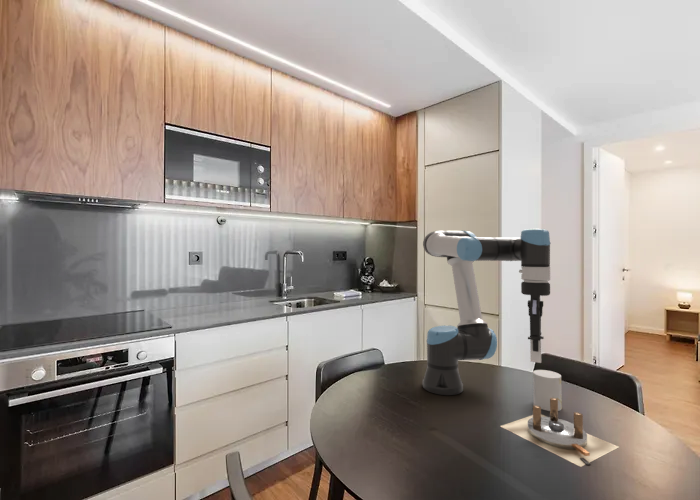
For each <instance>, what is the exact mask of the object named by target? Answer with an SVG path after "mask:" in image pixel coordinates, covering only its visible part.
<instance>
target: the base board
mask: <svg viewBox="0 0 700 500" xmlns="http://www.w3.org/2000/svg"><path fill="white" fill-rule="evenodd" d="M541 417H547V416H546V415H544V414H542V413H541ZM531 418H533V414H532V415H528V416H526V417H523V418H520V419H517V420H514V421H511V422H508V423H505V424H502V425H500V426H499V427H501V428H502V429H504V430H506V431H509V432H510V433H513V434H514V435H517V436H518V437H520V438H522V439H524V440H527V441H529V442H530V443H532V444H534V445H536V446H538V447H540V448H542V449H544V450H546V451H547V452H550V453H552V454H554V455H556V456H558V457H560V458H562V459H564V460H565V461H567V462H569V463H572V464H574V465H575V466H578V467H580V468H582V467H584V466H591V462H593V461H595V460H597V459H600V458H602V457H603V456H605V455H608V454H609V453H611V452H613V451H615V450H617V449H619V448H620V446H619V445H615V444H614V443H611V442H609V441H606V440H604V439H601V438H599V437H597V436H594V435H592V434H589V433H587V432H586V434H587V445H586V446H585V447H583V448H584V449H585V450H586V451H588V452H589V453H590V456H584V455H583V454H582V453H580V452H579V451H578V450H576V449H565V448H559V447H555V446H551V445H548V444H546V443H543V442H541V441H539V440H537V439H536V438H534V437H533V436H532V435H531V434H530V433H529V432H528V420H529V419H531Z"/></svg>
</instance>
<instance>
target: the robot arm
mask: <svg viewBox="0 0 700 500" xmlns="http://www.w3.org/2000/svg"><path fill="white" fill-rule="evenodd" d="M550 239H551V238H550V231H549V230H548V229H545V228H527V229H523V230H522V231H520V237H483V236H481V237H479V236H478V237H477V236H476V234H475V233H474V232H472V231H468V230H435V231H431V232H429V233H428V234H427V235H426V236H425V237H424V238H423V242H422V247H423V251H425V252H426V253H427V255H429V256H432V257H435V258H446V261H447V264H448V265H450V266H451V269H452V275H453V276H452V277H453V283H454V289H455V295H456V302H457V308H458V309H457V310H458V314H459V323H458V324H457V326H454V325H438V326H437V325H436V326H434V327H432V328H430V329H428V330H427V334H426V336H427V337H426V366H427V367H426V370H425V372H424V377H423V378H422V388H423V389H424V390H425V391H427V392H429V393H432V394H434V395H435V394H436V395H441V396H455V395H459V394H461V393H462V392H463V391H464V383H463V381H462V378H461V374H460V372H459V371H460V370H459V361H475V360H476V361H477V360H479V361H481V360H488V359H491V358H493V357H494V355H495V354H496V351H497V348H498V339H497V335H496V333H495V331H494V330H493V329H492V328H490V327H489V326H488V322H486V321H485V320H484V319H483V315H482V310H481V303H480V297H479V293H478V287H477V282H476V274H475V269H474V264H473V263H474V261H475V262H477V261H478V262H479V261H480V262H481V261H483V262H484V261H485V262H486V261H487V262H489V261H491V262H492V261H493V262H495V261H496V262H498V261H499V262H501V261H503V262H504V261H505V262H521V263H520V267H521V269H519V271H518V272H519V273H520V274H521V278H520V279H521V280H522V282H521V283H520V290H521V291H520V293H521V294H522V295H524V296H530V299H528V301H527V308H528V316H529V336H527V340H530V341H529V343H530V344H529V345H530V350H529V352H530V362H532V363H539V364H541V363H542V340H544V339H545V338H544V336H542V317H543V307H544V301H543V300H541V297H546V296H547V297H548V296H550V295H551V283H550V282H549V281H551V267H550V266H551V265H550V264H551V240H550Z"/></svg>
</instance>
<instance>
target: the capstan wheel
mask: <svg viewBox="0 0 700 500" xmlns="http://www.w3.org/2000/svg"><path fill="white" fill-rule="evenodd" d="M541 414H542V409H541V407H540V406H537V405H534V404H533V405H532V415H533V418H531V419H529V420H528V432H529V433H530V434H531V435H532V436H533V437H534V438H536V439H537V440H539V441H541V442H543V443H546V444H548V445H551V446H555V447H559V448H565V449H576V450H578V451H579V452H580V453H582V454H583V455H584V456H590V453H589V452H588V451H586V450H585V449H584V448H583V447H585V446H586V445H587V434H588V433H587V432H586V431H585V429H584V419H583V418H584V417H583V416H584V415H583V413H582V412H577V411H574V412H573V422H570V421H567V420H565V419H561V418H559V411H558V399H557V398H550V411H549V416H546V417H541ZM586 433H587V434H586Z"/></svg>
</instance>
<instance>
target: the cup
mask: <svg viewBox="0 0 700 500" xmlns="http://www.w3.org/2000/svg"><path fill="white" fill-rule="evenodd" d="M532 377H533V378H532V380H533V382H532V385H533V386H532V387H533V389H532V390H533V392H532V393H533V395H532V396H533V397H532V399H533V400H532V401H533V405H537V406H540V407H541V410H544V411H548V412H550V398H557V399H558V412H559V411H561V410H562V405H563V404H562V403H563V401H562V399H563V398H562V396H563V395H562V393H563V392H562V375H561V374H560V373H558V372H555V371H552V370H546V369H535V370H533V371H532Z"/></svg>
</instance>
